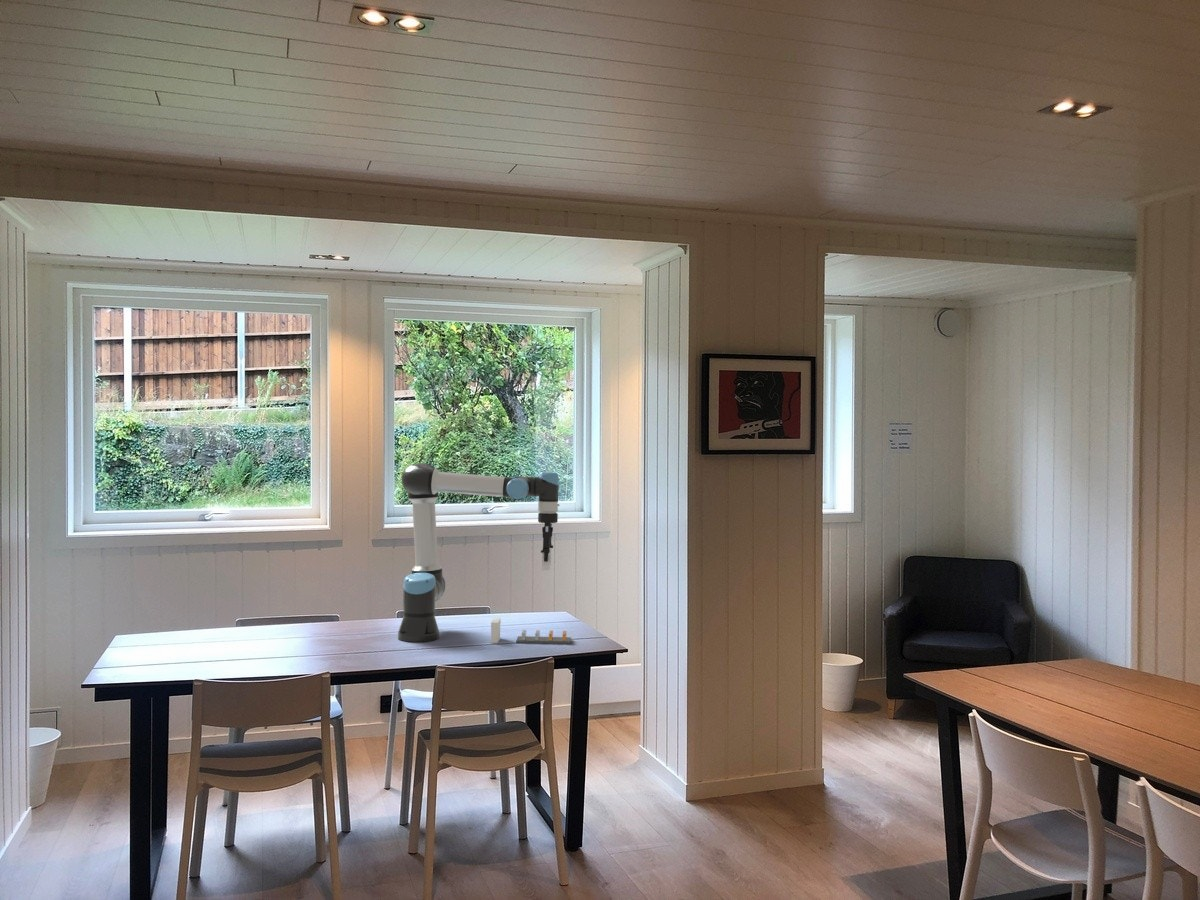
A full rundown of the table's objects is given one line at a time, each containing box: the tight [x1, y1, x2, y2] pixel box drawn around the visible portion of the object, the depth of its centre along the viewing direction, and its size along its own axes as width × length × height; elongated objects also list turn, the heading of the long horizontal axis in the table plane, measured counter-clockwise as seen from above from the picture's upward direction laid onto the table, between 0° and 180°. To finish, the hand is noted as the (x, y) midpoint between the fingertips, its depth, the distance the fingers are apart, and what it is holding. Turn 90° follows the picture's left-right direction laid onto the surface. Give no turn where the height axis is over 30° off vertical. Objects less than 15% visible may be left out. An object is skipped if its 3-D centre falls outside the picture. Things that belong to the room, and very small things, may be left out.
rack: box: [515, 629, 572, 645], centre depth 348 cm, size 20×7×4 cm, turn 90°
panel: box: [490, 617, 502, 644], centre depth 348 cm, size 2×8×8 cm, turn 0°
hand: (546, 567), depth 362 cm, fingers open, 13 cm apart
